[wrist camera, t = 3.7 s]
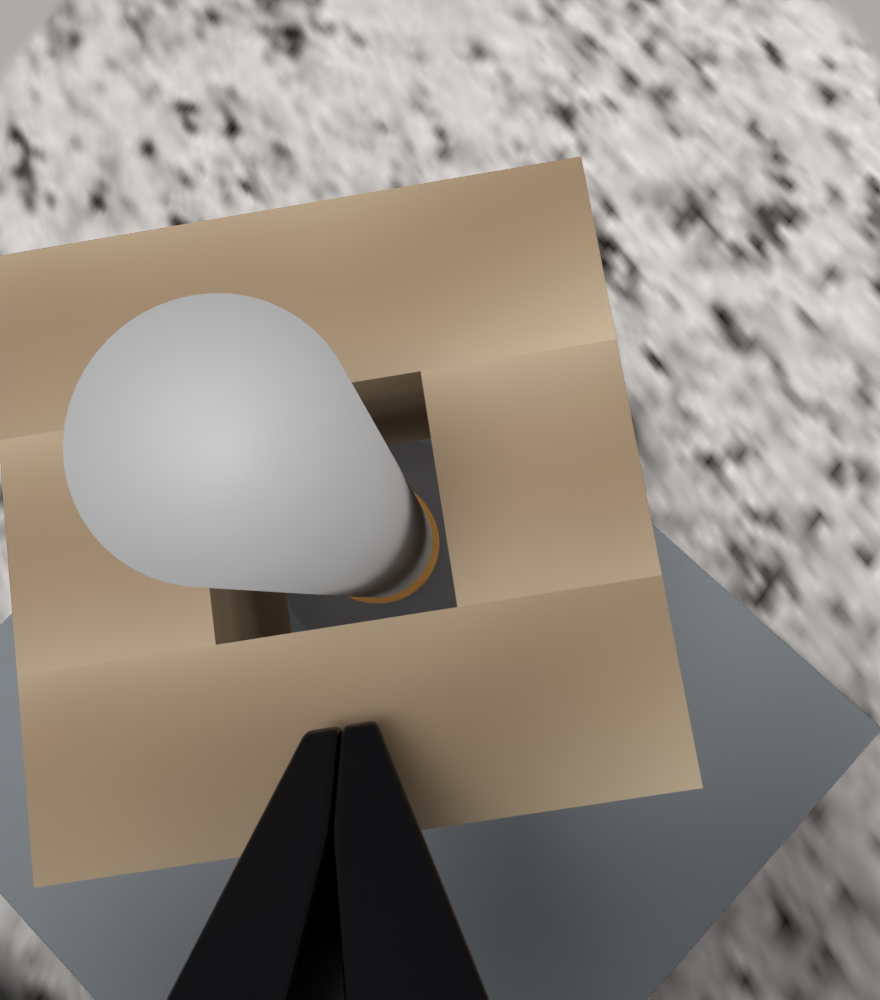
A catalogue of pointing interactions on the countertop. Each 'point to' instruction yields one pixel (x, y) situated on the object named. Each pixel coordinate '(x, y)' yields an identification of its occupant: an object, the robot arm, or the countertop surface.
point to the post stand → (384, 594)
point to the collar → (371, 644)
